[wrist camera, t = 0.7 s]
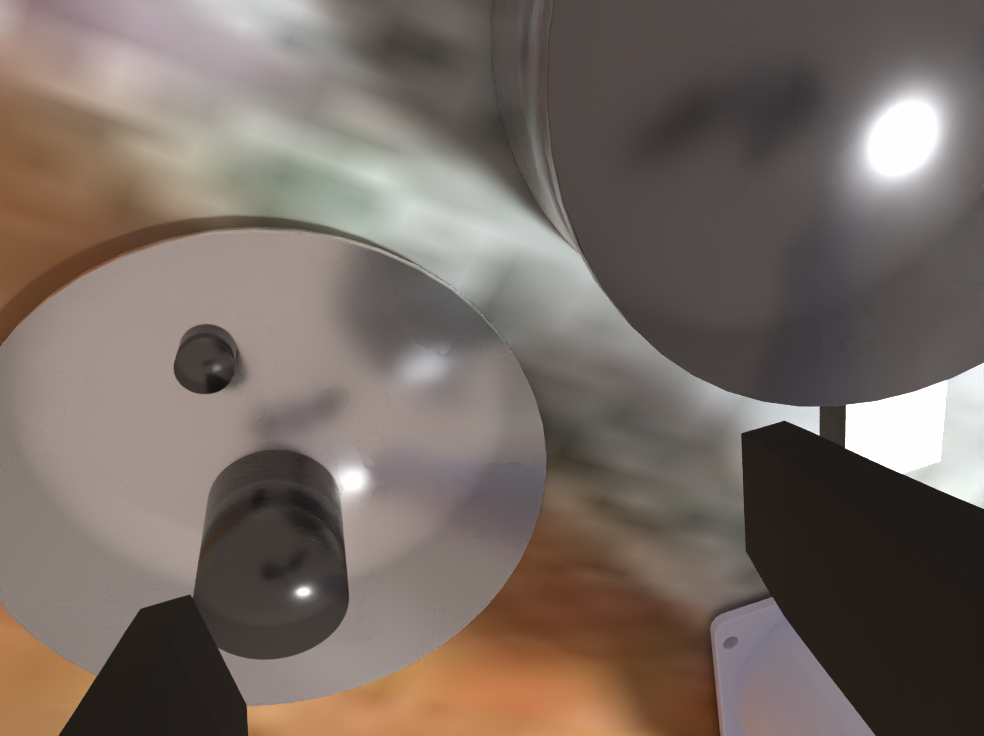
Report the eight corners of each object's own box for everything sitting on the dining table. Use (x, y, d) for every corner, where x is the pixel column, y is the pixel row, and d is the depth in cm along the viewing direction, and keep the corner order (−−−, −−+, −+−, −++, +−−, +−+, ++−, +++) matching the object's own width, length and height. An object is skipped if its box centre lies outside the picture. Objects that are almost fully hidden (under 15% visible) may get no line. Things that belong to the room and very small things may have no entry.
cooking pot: (1004, 318, 23) (1170, 404, 19) (557, 453, 22) (624, 579, 17) (1127, -636, 14) (1508, -901, 10) (369, -497, 13) (409, -732, 8)
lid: (573, 596, 25) (623, 710, 21) (119, 742, 24) (86, 891, 20) (480, 150, 18) (530, 203, 14) (-170, 320, 17) (-302, 429, 13)
